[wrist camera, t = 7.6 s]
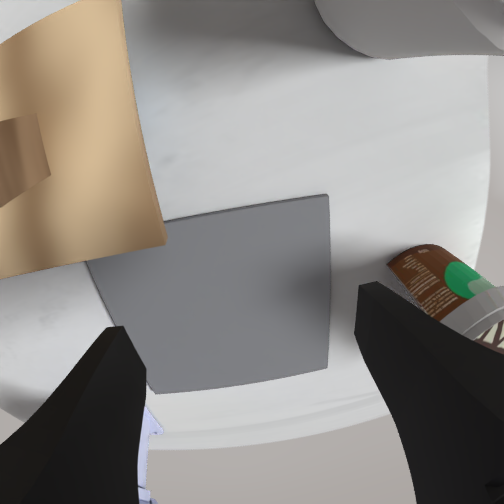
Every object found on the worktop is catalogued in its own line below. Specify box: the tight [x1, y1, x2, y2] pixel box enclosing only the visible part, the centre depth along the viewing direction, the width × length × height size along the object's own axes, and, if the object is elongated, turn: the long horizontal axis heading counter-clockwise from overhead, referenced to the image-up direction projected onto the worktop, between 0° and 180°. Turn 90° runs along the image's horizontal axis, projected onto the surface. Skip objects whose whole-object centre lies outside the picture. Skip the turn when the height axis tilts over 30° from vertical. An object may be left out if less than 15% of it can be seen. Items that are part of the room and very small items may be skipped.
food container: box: [387, 244, 504, 355], centre depth 18 cm, size 12×6×10 cm, turn 45°
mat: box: [86, 194, 330, 394], centre depth 22 cm, size 16×16×1 cm
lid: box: [0, 0, 168, 279], centre depth 9 cm, size 12×12×5 cm
